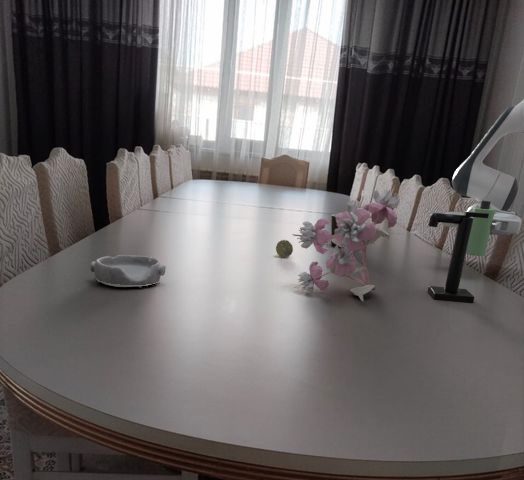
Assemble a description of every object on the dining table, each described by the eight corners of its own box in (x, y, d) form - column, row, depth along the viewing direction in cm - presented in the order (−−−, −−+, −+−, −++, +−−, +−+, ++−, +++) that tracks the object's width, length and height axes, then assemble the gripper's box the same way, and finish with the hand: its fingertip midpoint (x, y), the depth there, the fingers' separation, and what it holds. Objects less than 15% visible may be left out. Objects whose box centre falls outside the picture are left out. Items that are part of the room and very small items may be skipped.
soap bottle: (481, 252, 143) (492, 200, 138) (487, 256, 139) (499, 202, 133) (462, 251, 144) (473, 199, 138) (467, 255, 139) (479, 201, 134)
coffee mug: (326, 246, 173) (330, 216, 169) (329, 242, 181) (332, 213, 177) (361, 250, 171) (365, 220, 167) (362, 246, 179) (367, 217, 175)
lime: (294, 257, 153) (295, 240, 151) (283, 259, 150) (284, 242, 148) (282, 254, 156) (284, 238, 154) (272, 256, 152) (273, 239, 151)
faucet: (464, 294, 126) (483, 211, 119) (473, 303, 120) (493, 215, 112) (412, 290, 127) (428, 207, 119) (418, 298, 120) (435, 210, 113)
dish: (173, 284, 116) (173, 262, 114) (121, 294, 106) (121, 270, 104) (132, 271, 125) (132, 250, 123) (81, 279, 114) (79, 257, 113)
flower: (320, 268, 135) (304, 178, 118) (407, 274, 125) (402, 177, 108) (291, 317, 123) (268, 225, 106) (384, 329, 112) (375, 228, 96)
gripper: (445, 205, 152) (442, 209, 140) (521, 212, 145) (525, 217, 133) (441, 227, 154) (438, 233, 142) (515, 235, 148) (519, 242, 135)
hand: (481, 225), depth 137 cm, fingers closed on soap bottle, 5 cm apart
